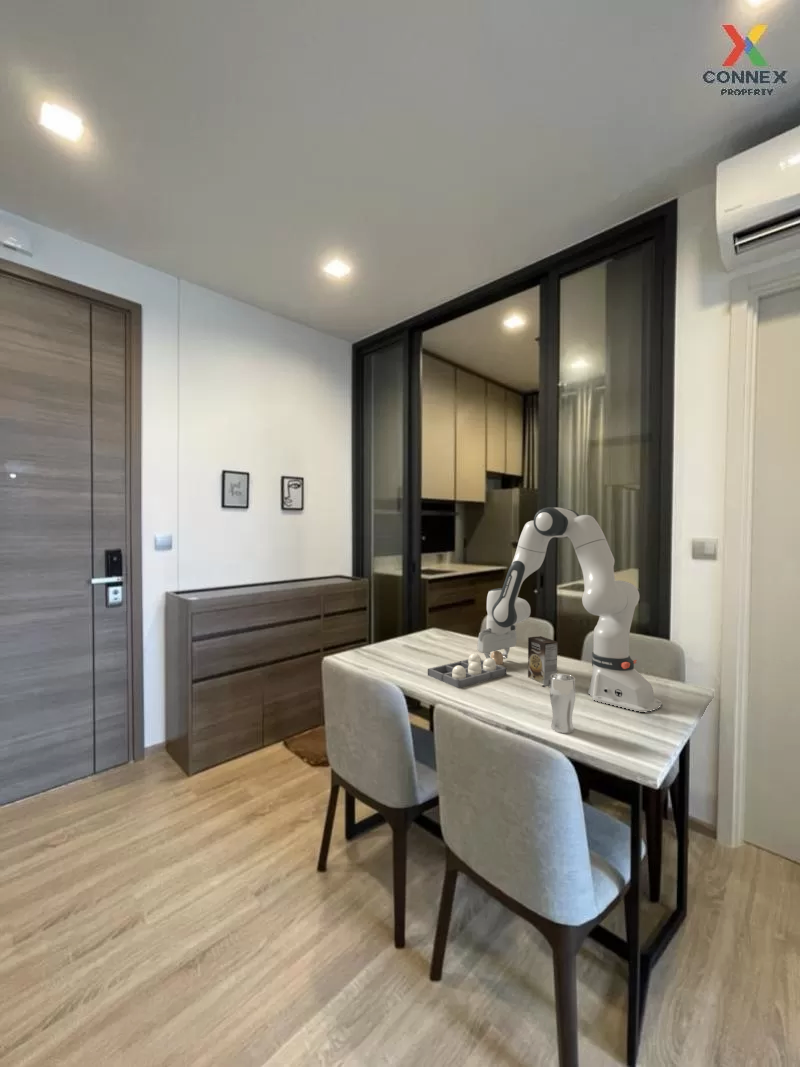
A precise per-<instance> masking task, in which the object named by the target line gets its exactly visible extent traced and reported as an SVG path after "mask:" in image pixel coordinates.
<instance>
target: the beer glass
mask: <svg viewBox="0 0 800 1067" xmlns="http://www.w3.org/2000/svg"><path fill="white" fill-rule="evenodd" d="M576 692H577V691H576V678H575V676H573V675H571V674H568V673H559V672H557V673H555V674H552V675H551V679H550V686H549V699H550V704H551V705H550V706H551V712H552V718H551V725H550V728H551V730H552V731H554V730H555V731H554V732H556V731H557V733H559V732H562V733H561V734H571V733H570V732H572V731H573V732H574V724H573V713H574V708H575V702H576V694H577V693H576ZM573 732H572V733H573Z"/></svg>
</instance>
